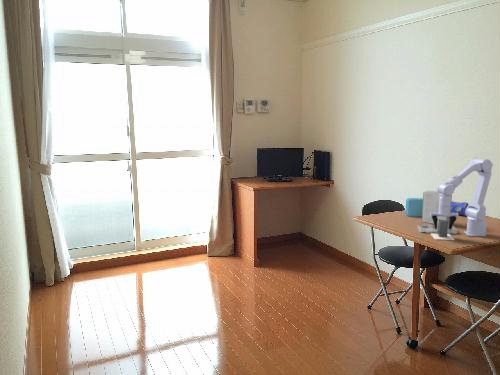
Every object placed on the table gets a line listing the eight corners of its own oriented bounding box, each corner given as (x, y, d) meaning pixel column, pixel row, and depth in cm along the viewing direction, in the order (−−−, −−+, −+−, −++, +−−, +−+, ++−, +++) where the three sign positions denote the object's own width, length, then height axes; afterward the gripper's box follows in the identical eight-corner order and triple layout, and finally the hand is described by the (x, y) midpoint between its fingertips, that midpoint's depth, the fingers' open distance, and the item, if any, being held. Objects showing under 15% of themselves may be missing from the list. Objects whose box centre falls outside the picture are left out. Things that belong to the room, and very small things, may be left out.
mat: (449, 235, 237) (449, 234, 237) (454, 240, 228) (454, 239, 228) (430, 234, 239) (430, 233, 239) (435, 239, 230) (435, 238, 229)
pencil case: (433, 211, 290) (434, 198, 289) (439, 209, 296) (440, 196, 294) (466, 217, 274) (467, 203, 272) (471, 215, 279) (472, 201, 277)
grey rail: (452, 229, 247) (453, 225, 247) (456, 233, 239) (457, 229, 239) (417, 228, 251) (417, 224, 250) (420, 232, 243) (420, 228, 243)
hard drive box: (450, 223, 260) (452, 192, 257) (446, 226, 255) (448, 194, 251) (425, 219, 271) (427, 189, 267) (421, 222, 265) (422, 191, 262)
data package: (422, 214, 283) (423, 197, 281) (425, 216, 279) (426, 199, 276) (405, 215, 283) (406, 198, 281) (407, 216, 279) (408, 199, 276)
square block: (444, 235, 235) (446, 220, 234) (446, 237, 232) (448, 221, 230) (437, 234, 236) (438, 219, 234) (439, 237, 232) (440, 221, 231)
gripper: (456, 204, 233) (454, 227, 235) (429, 203, 235) (427, 226, 238) (460, 207, 226) (458, 230, 228) (432, 206, 228) (430, 229, 231)
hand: (442, 228), depth 233 cm, fingers open, 7 cm apart
